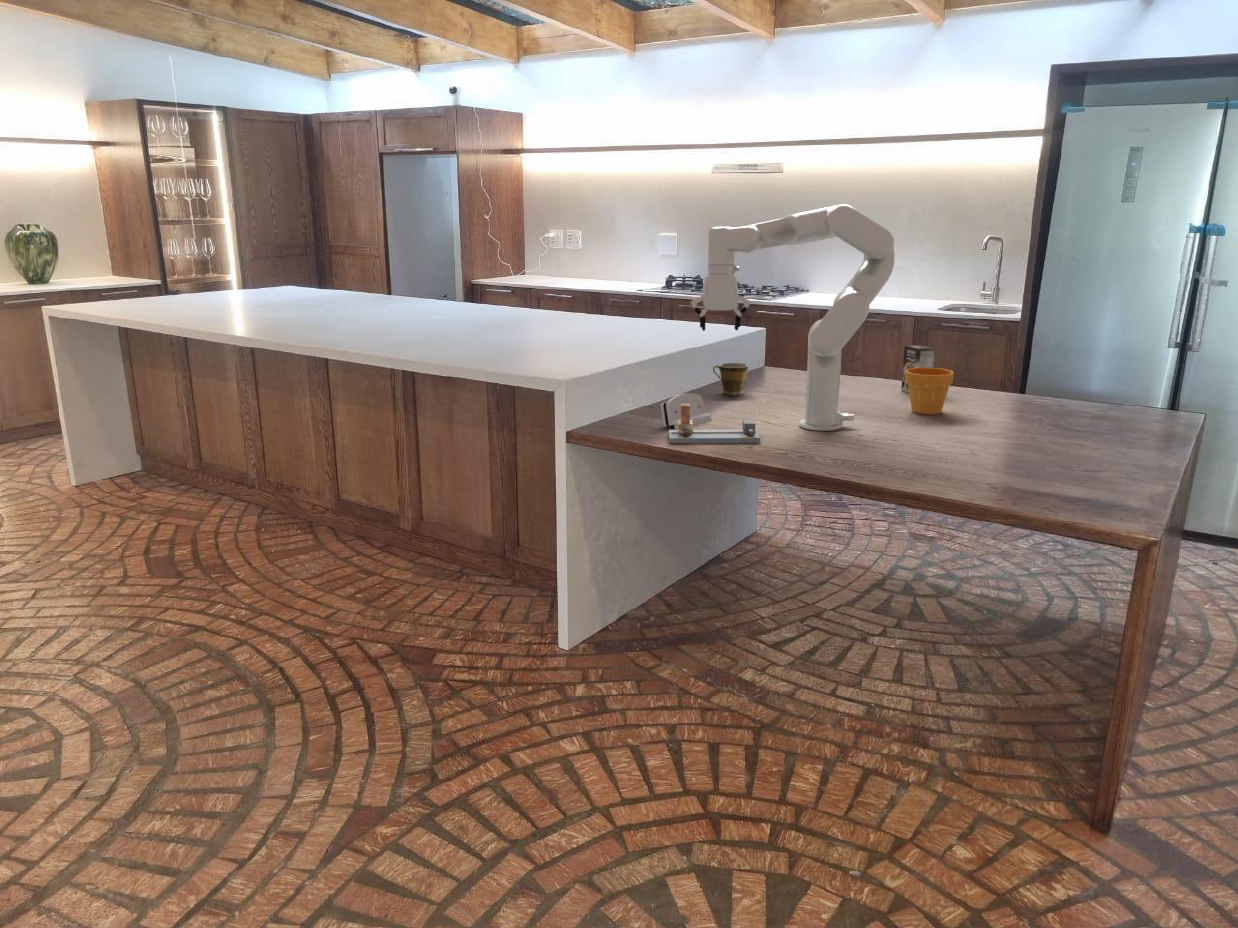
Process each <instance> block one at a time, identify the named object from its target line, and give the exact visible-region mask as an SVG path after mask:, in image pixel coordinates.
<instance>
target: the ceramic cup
mask: <svg viewBox="0 0 1238 928" xmlns="http://www.w3.org/2000/svg"><path fill="white" fill-rule="evenodd" d="M715 368H717V369H719V373H720V375H719V374H718V373H717V372H716V370H715ZM748 369H749V365H748V364H746V363H742V362H741V363H740V362H727V363H721V364H719V365H714V366H713V368H712V371H713V373H714V374H715V375H716V377H718V379H719V380H720V381H721V384H722V391H723V394H724V393H725V395H728V396H739V395H742V394H744V391H745V390H744V388H745V385H746V379H747V375H748Z"/></svg>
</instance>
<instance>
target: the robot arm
mask: <svg viewBox="0 0 1238 928" xmlns="http://www.w3.org/2000/svg"><path fill="white" fill-rule="evenodd" d="M835 238H838V239H840V240H841V241H843V242H844V243H846V244H847V245H849V246H850V247H853V248H854V249H856V250H857V251H859V252H861V253H862V254H863V261H862V263H861V265H860V267H859V268H858V270H857V271H856V273H855V274H854V275H853V277H852V278H851V279H850V280H849V282H848V283H847V284H846V285H845V286H844V288H842V290H841V291H840V292H839V293H838V294H837V295H836V296H835V298H834V300H833V304H832V305H831V307H830V308H829V310H828V311H827V312H826V314H825V315H824V317H822V319H819V320H816V321H815V322H814V323H813V324H812V325H811V327H810V328H809V331H808V335H807V337H808V338H807V369H806V386H805V389H806V390H805V409H804V410H805V411H804V418H803V419H801V420H799V423H798V425H799V427H801V428H803V429H806V430H811V431H817V432H818V431H820V432H823V431H824V432H825V431H829V432H830V431H837V430H841V429H843V426H844V424H843V422H845V421H848V422H854V421H855V414H852V413H851V414H850V413H841V412H840V411H839V406H840V405H839V402H840V383H841V370H842V350H843V348H844V347H845V345H846V344H848V342H849V341H850V340H851V338H852V337H853V336H854V335H855V334H856V332H857V331H858V330H859V329H860V327H861V326H862V324H864V322H865V321H866V319H867V317H868V315H869V312H870V306H871V304H872V302H873V301H874V300H875V299H876V297H877V296H878V294H879V293H880V292H881V291H882V289H883V288H884V286H885V285H886V283H887V282H888V280H889V279H890V276H891V275H892V273H893V270H894V266H895V249H894V245H895V239H894V235H893V234H892V232H890V230H889V229H887V228H886V227H884V226H882V225H880V224H879V222H878V223H877V222H876V221H874V220H873V219H871V218H870V217H868V216H867V215H865V214H863V213H862V212H860V211H859V210H858V209H856V208H854V207H853V206H851V205H849V204H843V203H841V204H837V205H831V206H828V207H827V206H826V207H823V208H818V209H813V210H807V211H803V212H797V213H794V214H793V213H792V214H790V215H787V216H785V217H781V218H778V219H773V220H768V221H764V222H763V221H762V222H759V223H755V224H748V225H745V226H737V227H732V226H713V227H711V228H709V230H708V251H707V252H708V253H707V254H708V255H707V257H708V258H707V259H708V260H707V264H708V266H707V275H705V276H704V280H703V281H704V282H703V290H702V295H701V296H699V297H697V298H695V299H693V300H691V301H690V304H691V306H692V308H693V310H694V312H695V313H696V314H697V315H698V316H699V328H701V329H702V331H706V316H705V315H706V313H708V311H733V312H734V313H735V316H734V331H739V328H741V317H742V315H743V314H744V313H746V311H747V310H748V309H749V307H750V304H751V301H750V300H749V299H748V298H745V297H743V296H741V295H739V288H738V280H737V279H738V277H737V275H736V274H735V273H737V272H740V266H738V265H735V253H736V252H737V253H742V254H743V253H744V254H750V253H754V252H756V251H759V250H763V249H769V248H774V247H782V246H791V245H792V246H797V245H802V244H803V245H804V244H807V243H814V242H817V241H823V240H829V239H835ZM739 301H740V302H742V303H744V304H743V306H742V307H741V308H740V309H739ZM701 302H702V307H703V308H702V309H699V308H698V307H699V306H698V304H699V303H701Z"/></svg>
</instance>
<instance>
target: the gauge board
mask: <svg viewBox="0 0 1238 928" xmlns="http://www.w3.org/2000/svg"><path fill="white" fill-rule="evenodd" d="M668 440H669V444H670V443H690V444H760V443H761V437H760V435H759V433H758V430H757V429H756V422H755V419H742V429H732V428H731V429H730V428H729V429H728V428H726V429H723V428H722V429H693V432H688V434H687V436H685V434H684V432H682V433H679V432H678V429H669V430H668Z"/></svg>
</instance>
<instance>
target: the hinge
mask: <svg viewBox="0 0 1238 928" xmlns="http://www.w3.org/2000/svg"><path fill="white" fill-rule="evenodd" d="M681 404H690V420H692V423H693V426H695V425H699V424H703V423H707V422H711V421H712V417H711V414H709V413H708V411H707V408H706V406H705V402H704V400H703V397H702V395H700V394H697V393H680V394H677V395H673V396H671V397H670V398H668V399H666V400H665V401H663V403H661V405H660V411H661V418H662V423H663V424H662V425H663V428H667V427H671V426H673V427H674V430H678V420H681Z"/></svg>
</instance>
